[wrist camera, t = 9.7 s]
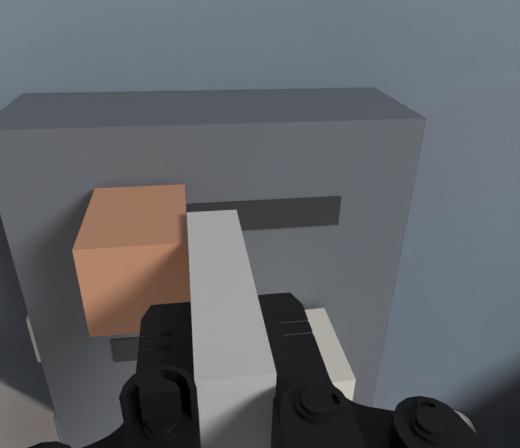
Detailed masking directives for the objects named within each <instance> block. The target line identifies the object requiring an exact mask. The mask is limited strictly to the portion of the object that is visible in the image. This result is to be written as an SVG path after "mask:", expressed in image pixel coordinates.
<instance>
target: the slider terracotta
mask: <svg viewBox="0 0 520 448" xmlns="http://www.w3.org/2000/svg"><path fill="white" fill-rule="evenodd" d="M72 252H73V256H74V261H75V266H76V271H77V276H78V281H79V286H80V291H81V296H82V301H83V306H84V311H85V316H86V321H87V326H88V331H89V336H90V337H98V336H109V335H120V334H131V333H140V324H141V319H142V317H143V316H144V314H145V313H146V311H147V310H148V308H149V307H150V305H156V304H168V303H181V302H191V294H190V272H189V250H188V229H187V213H186V198H185V184H179V185H157V186H135V187H113V188H95V189H94V192H93V195H92V197H91V200H90V203H89V206H88V208H87V211H86V214H85V216H84V219H83V222H82V225H81V227H80V230H79V233H78V236H77V238H76V241H75V244H74V247H73V249H72Z"/></svg>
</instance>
